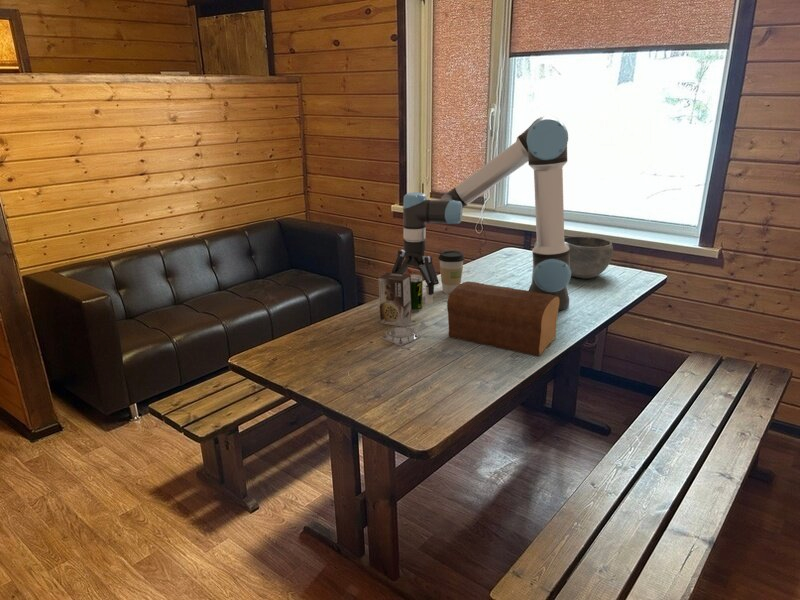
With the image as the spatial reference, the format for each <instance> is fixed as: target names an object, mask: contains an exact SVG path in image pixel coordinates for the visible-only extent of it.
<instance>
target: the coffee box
mask: <svg viewBox="0 0 800 600" xmlns="http://www.w3.org/2000/svg"><path fill="white" fill-rule="evenodd" d="M411 275H412V274H404V273H403V274H396V273H392V272H385V273H383V274H382V275H381V276H379V277H378V290H379V291H378V292H379V293H378V295H379V298H378V299H379V317H380V319H379V323H380V324H383V325H391V326H395V327H401V326H402V327H407V325H408V324H409V323H411V322H412V311H411Z"/></svg>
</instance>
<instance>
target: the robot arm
mask: <svg viewBox="0 0 800 600" xmlns="http://www.w3.org/2000/svg"><path fill="white" fill-rule="evenodd" d="M568 132H569V131H568V129H567V127H566V125H565V124H564V123H563V122H562V120H560V119H559V118H557V117H556V116H552V115H545V116H544V115H543V116H541V117H539V118H536V120H534V121H533V122H532V123H531V124H530V125H529V126H528V128H527V129H525V131H523V132H522V133H520V134H519V135H518V136H517V137H516V140H515V142H513V143H512V144H511V145H510V146H509V147H507V148H506V149H504V150H503V151H502V152H501V153H499V154H498V155H496V156H495V157H494V158H492V159H491V160H489V161H488V162H487V163H485V164H484V165H483V166H481V167H480V168H479V169H478V170H476V171H475V172H474V173H471V174H470V176H468V177H467V178H465V179H463V181H461V182H460V183H458V185H455V187H453V188H451V190H449V191H448V192H445V193H444V194H443V195H442V196H441V197H440V199H437V200H436V199H427V195H426V193H424V192H408V193H406V194H405V195H403V206H402V213H403V216H402V217H403V225H402V226H403V239H404V240H403V248H402V249H399V250H397V257H396V259H395V262H394V265H393V267H392V270H391V273H396V274H404V273H405V272H406V270H408V268H409V267H412V266H413V267H414V268H416V269H417V270H418V271H419V272H420V275H421V276H422V279H423V280H424V281H425V284H427V285H425V298H424V299H425V302H424V303H425V304H426V305H429V304H431V303H433V295H434V293H435V292H434V291H435V286H436V285H439V284H440V282H439V279H438V276H437V272H436V270H435V266H434V264H433V257H432V256H431V255H428V256H427V255H425V251H426V250H427V247H426V245H427V244H426V234H427V233H426V232H427V230H426V227H427V226H426V225H427V223H429V224H444V225H445V224H448V225H452V224H453V225H455V224H456V225H457V224H460V223H462V218H463V209H464V208H465V207H467V206H468V205H470V204H471V203H472V202H474V201H475V200H476V199H478V198H479V197H480V196H482V195H484V194H485V193H486V192H487V191H489V190H490V189H492V188H494V186H496V185H497V184H499V183H500V182H501V181H503V180H504V179H506V178H507V177H508V176H510V175H512V174H513V173H514V172H515V171H516V170H518V169H520V168H521V167H522V166H524V165H525V164H528V166H530V168H531V169H532V170H533V180H534V181H533V182H534V185H533V186H534V203H535V204H534V207H535V210H534V211H535V229H536V230H535V231H536V233H535V234H536V242H535V243H534V247H533V248H532V275H531V276H532V277H531V283H530V286H529V289H528V290H527V291H531V292H537V293H543V294H550V295H555V296H558V297H559V308H558V312H559V311H563V310H566V309H568V308H569V307H570V296H569V292H568V289H567V286H568V284H569V283H570V281H571V278H572V276H571V270H570V250H569V244H568V243H567V242H564V238H565V217H564V215H565V214H564V212H565V210H564V180H563V179H564V178H563V177H564V176H563V175H564V174H563V173H564V172H563V170H564V169H563V168H564V166H565V165H566V164H567V163H568V142H569V133H568Z"/></svg>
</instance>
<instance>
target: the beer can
mask: <svg viewBox="0 0 800 600" xmlns="http://www.w3.org/2000/svg"><path fill="white" fill-rule="evenodd" d="M410 275H411V312H420V311H422V310H423V305H424V304H423V301H424V299H423V297H424V296H423V295H424V294H423V287H424V286H423V281H424V278H423V276H422V274H410Z"/></svg>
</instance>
